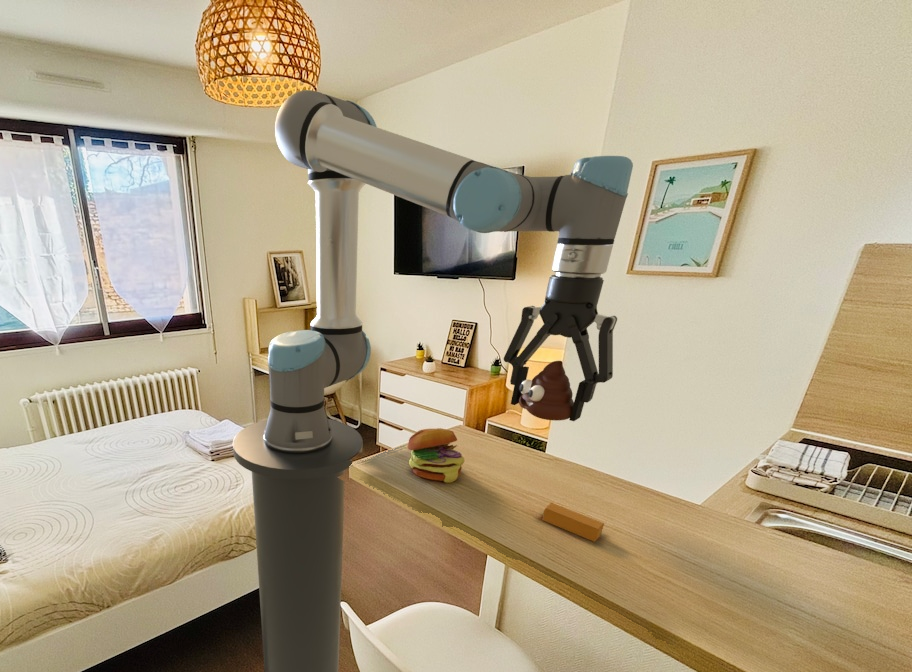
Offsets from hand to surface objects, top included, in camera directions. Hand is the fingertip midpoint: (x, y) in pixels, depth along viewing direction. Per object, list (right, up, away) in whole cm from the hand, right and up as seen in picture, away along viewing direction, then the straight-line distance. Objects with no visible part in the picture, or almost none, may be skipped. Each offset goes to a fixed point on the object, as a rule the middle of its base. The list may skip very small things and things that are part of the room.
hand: (544, 410), depth 82 cm
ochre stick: (0, -19, -7) cm, 21 cm away
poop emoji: (0, 0, 0) cm, 1 cm away
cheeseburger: (-17, -11, +10) cm, 23 cm away
